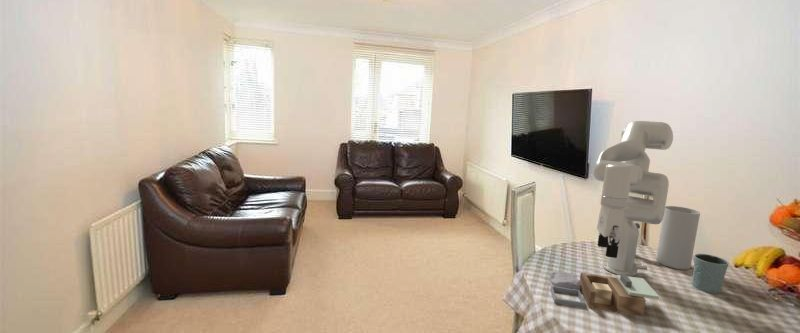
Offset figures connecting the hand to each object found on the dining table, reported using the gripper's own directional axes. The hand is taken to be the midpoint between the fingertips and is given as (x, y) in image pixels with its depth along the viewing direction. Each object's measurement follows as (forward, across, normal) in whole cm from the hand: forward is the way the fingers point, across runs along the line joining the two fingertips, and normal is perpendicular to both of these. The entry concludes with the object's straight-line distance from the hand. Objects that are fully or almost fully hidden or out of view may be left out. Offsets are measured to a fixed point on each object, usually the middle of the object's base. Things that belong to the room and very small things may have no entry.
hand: (606, 251), depth 125 cm
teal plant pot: (+18, -28, +44) cm, 55 cm away
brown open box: (+18, -2, +3) cm, 19 cm away
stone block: (+19, -11, -10) cm, 24 cm away
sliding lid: (+12, -2, +11) cm, 16 cm away
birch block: (+18, -1, 0) cm, 18 cm away
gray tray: (+19, +2, -11) cm, 22 cm away
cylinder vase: (+18, -51, +42) cm, 68 cm away
